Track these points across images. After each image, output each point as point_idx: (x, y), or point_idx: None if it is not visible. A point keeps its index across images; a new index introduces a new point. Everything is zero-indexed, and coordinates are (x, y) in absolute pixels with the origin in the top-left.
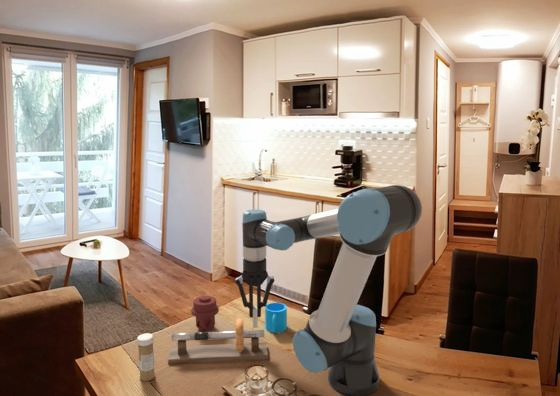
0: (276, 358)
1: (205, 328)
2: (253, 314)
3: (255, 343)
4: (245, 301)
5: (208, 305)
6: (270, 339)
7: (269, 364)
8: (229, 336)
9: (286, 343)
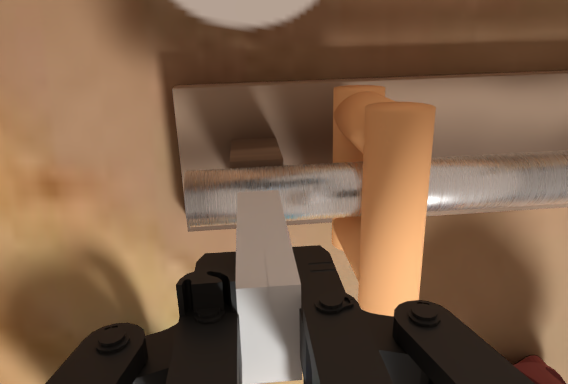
0: (122, 93)
1: (522, 364)
2: (285, 248)
3: (252, 151)
4: (456, 364)
5: None
6: (171, 293)
7: (162, 25)
8: (450, 158)
9: (73, 253)
